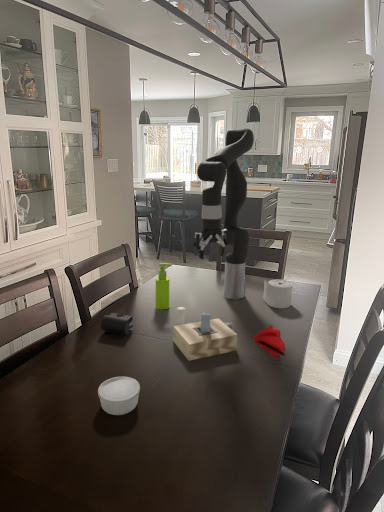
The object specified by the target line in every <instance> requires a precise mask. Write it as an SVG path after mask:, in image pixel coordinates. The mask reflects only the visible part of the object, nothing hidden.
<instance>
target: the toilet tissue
mask: <svg viewBox="0 0 384 512" xmlns="http://www.w3.org/2000/svg"><path fill="white" fill-rule="evenodd" d="M263 286H264V287H263V296H262V297H263V300H264V302H265V303H266V304H267V305H268V306H269V307H271V308H275V309H288V308H290V307H291V303H292V292H293V283H292V282H291V281H289V280H286V279H278V278H277V279H270V280H268V281H267V280H266V279H264V285H263Z"/></svg>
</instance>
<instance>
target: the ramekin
mask: <svg viewBox="0 0 384 512" xmlns="http://www.w3.org/2000/svg"><path fill="white" fill-rule="evenodd" d="M140 391H141V386H140V382H139V381H137V379H135V378H132V377H130V376H115V377H111V378H109V379H106V380H104V381H103V382H102V383H101V384H100V385H99V387H98V389H97V395H98V398H99V401H100V406H101V408H102V410H103V411H104V412H106V414H109V415H111V416H112V415H113V416H123V415H126V414H128V413H130V412H132V411H133V410H135V408H136V407H137V405H138V402H139V396H140V393H141V392H140Z"/></svg>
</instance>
